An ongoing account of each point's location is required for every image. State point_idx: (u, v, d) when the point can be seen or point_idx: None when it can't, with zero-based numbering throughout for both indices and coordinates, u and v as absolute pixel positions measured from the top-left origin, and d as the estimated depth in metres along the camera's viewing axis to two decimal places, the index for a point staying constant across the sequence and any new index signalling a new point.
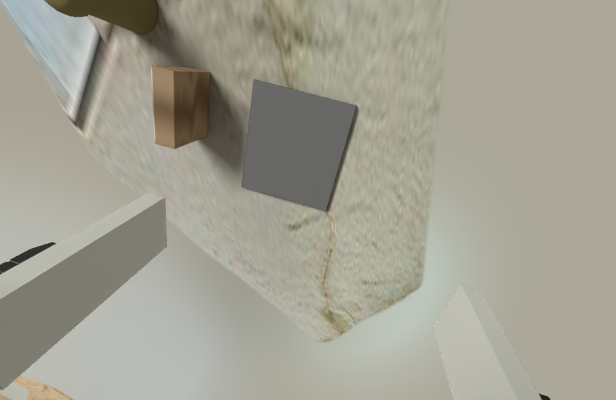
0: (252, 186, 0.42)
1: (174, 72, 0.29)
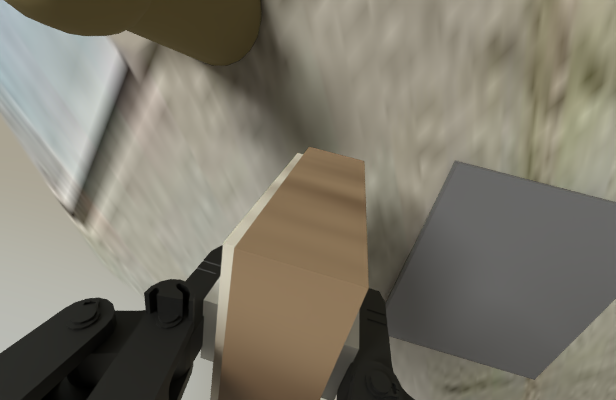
0: (397, 333, 0.23)
1: None
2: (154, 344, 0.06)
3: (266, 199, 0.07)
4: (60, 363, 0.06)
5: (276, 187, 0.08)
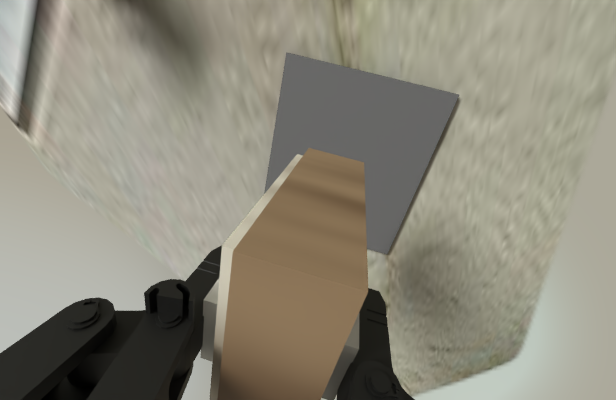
0: None
1: None
2: (154, 344, 0.06)
3: (265, 201, 0.07)
4: (60, 363, 0.06)
5: (275, 189, 0.08)
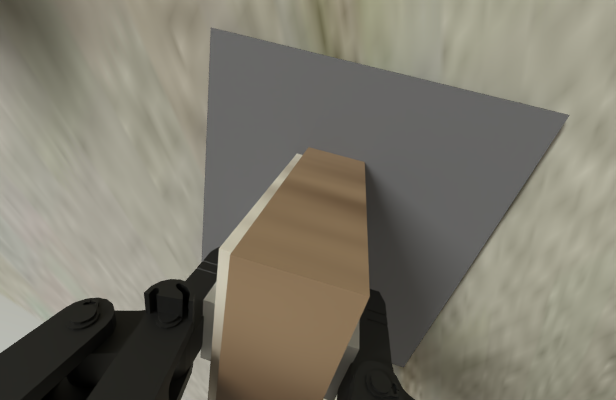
0: None
1: None
2: (154, 344, 0.06)
3: (264, 202, 0.07)
4: (60, 363, 0.06)
5: (275, 189, 0.08)
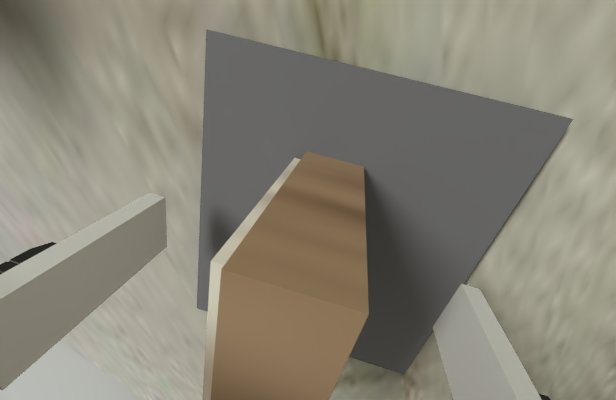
0: None
1: None
2: None
3: (260, 210, 0.07)
4: None
5: (271, 196, 0.08)
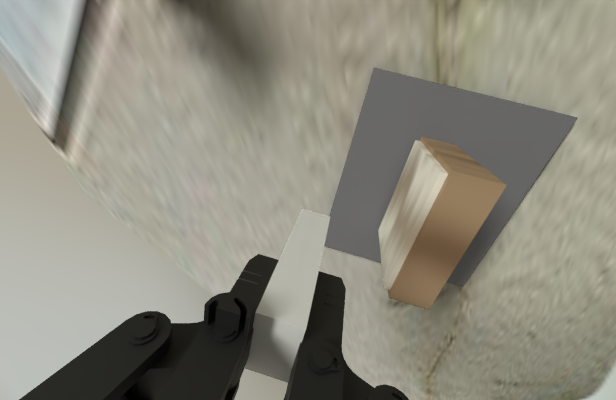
0: (340, 245, 0.26)
1: None
2: (211, 358, 0.06)
3: (433, 159, 0.15)
4: (121, 380, 0.05)
5: (430, 155, 0.16)
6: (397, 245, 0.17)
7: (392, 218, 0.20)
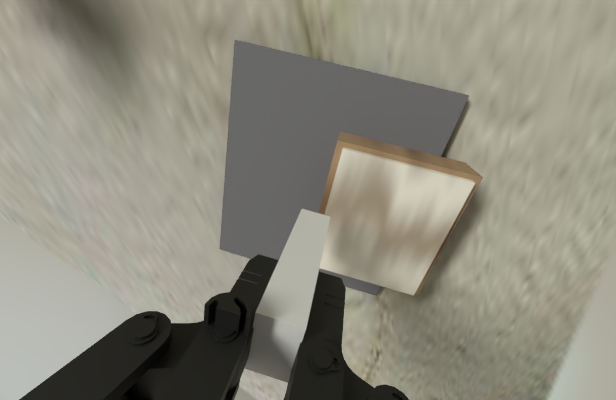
0: (239, 249, 0.23)
1: None
2: (211, 358, 0.06)
3: (431, 170, 0.14)
4: (121, 380, 0.05)
5: (414, 166, 0.14)
6: (413, 259, 0.16)
7: (359, 243, 0.17)
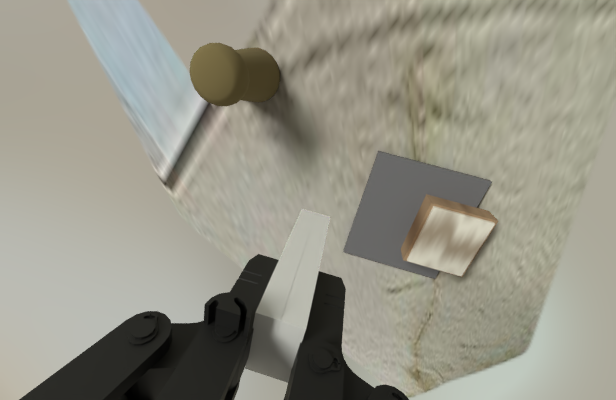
0: (356, 252, 0.40)
1: (486, 211, 0.33)
2: (211, 358, 0.06)
3: (475, 217, 0.31)
4: (121, 380, 0.05)
5: (467, 215, 0.31)
6: (462, 258, 0.34)
7: (436, 250, 0.34)
